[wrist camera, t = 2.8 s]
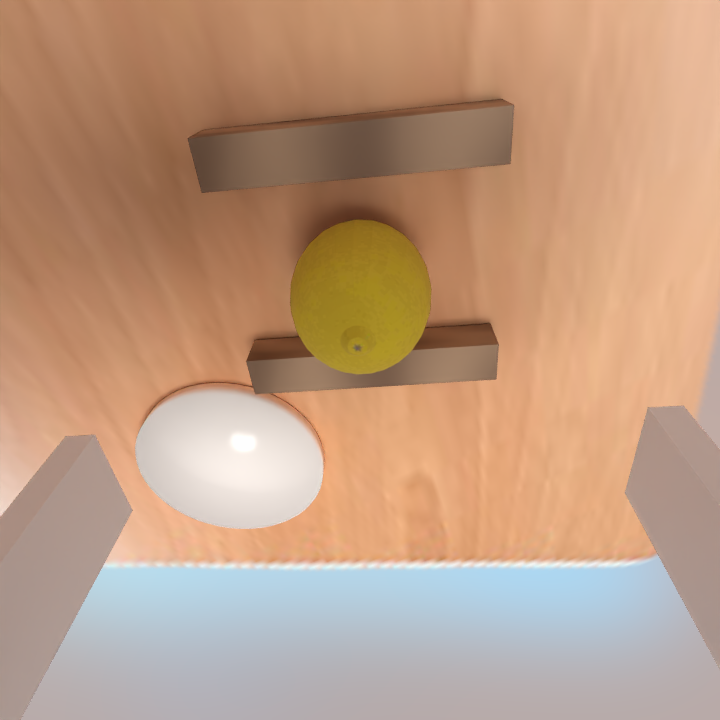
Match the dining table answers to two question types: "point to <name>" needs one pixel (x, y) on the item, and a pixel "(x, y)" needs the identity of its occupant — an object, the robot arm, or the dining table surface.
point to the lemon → (360, 296)
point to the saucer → (230, 456)
